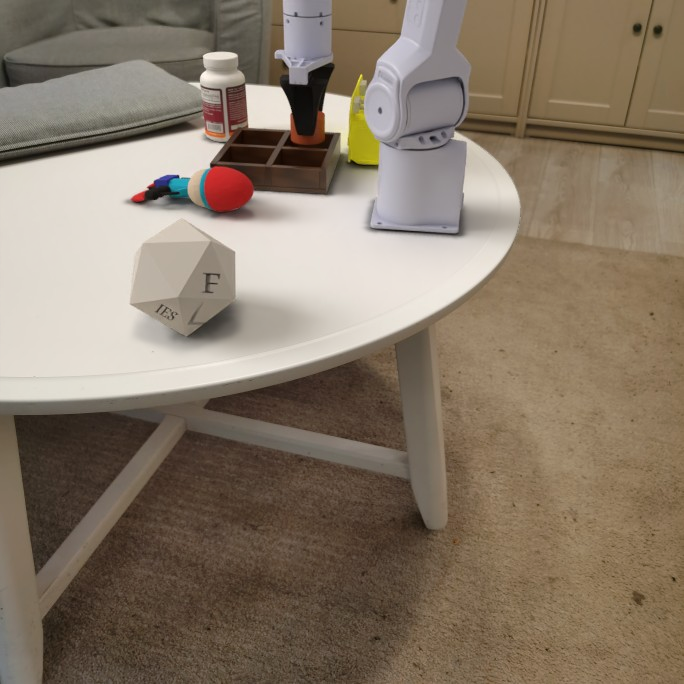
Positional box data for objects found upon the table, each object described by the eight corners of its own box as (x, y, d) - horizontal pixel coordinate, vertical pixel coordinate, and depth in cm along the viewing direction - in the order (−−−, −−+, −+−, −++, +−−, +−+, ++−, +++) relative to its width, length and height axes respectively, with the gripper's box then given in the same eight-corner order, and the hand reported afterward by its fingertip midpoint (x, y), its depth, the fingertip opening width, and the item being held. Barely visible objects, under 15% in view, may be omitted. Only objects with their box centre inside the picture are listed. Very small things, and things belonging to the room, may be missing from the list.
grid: (340, 154, 96) (340, 132, 94) (326, 194, 85) (326, 170, 83) (239, 148, 97) (237, 127, 96) (211, 187, 86) (209, 163, 84)
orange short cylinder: (327, 134, 93) (327, 110, 91) (322, 145, 90) (322, 120, 88) (294, 133, 94) (293, 108, 92) (288, 143, 90) (287, 118, 88)
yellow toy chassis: (357, 129, 105) (358, 71, 100) (395, 131, 105) (398, 72, 100) (344, 168, 92) (345, 102, 87) (388, 170, 91) (391, 104, 87)
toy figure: (129, 217, 82) (236, 221, 75) (119, 174, 80) (228, 175, 73) (170, 199, 88) (273, 201, 81) (162, 159, 86) (267, 158, 79)
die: (125, 354, 58) (176, 285, 51) (102, 264, 61) (147, 189, 55) (215, 352, 64) (271, 290, 57) (190, 270, 67) (240, 203, 61)
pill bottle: (246, 128, 105) (241, 49, 99) (251, 141, 100) (246, 59, 94) (203, 130, 104) (196, 50, 97) (206, 144, 99) (198, 61, 92)
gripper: (285, 1, 90) (288, 110, 97) (260, 23, 78) (266, 145, 85) (340, 4, 89) (339, 113, 97) (324, 26, 77) (324, 148, 85)
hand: (308, 128), depth 91 cm, fingers closed on orange short cylinder, 4 cm apart
